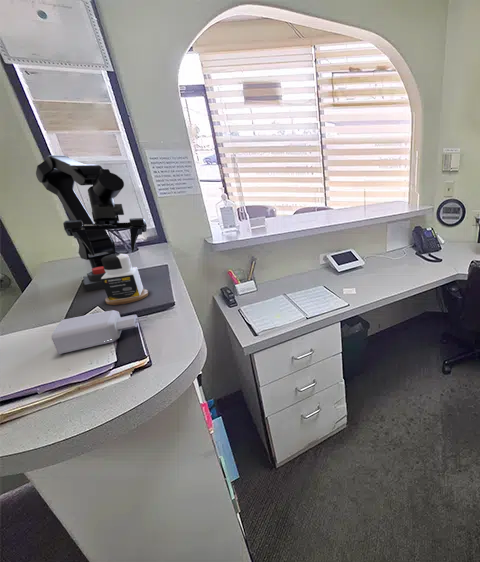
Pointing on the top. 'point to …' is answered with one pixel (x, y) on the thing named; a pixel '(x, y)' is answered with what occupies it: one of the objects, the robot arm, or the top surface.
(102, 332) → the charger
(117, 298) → the medicine bottle
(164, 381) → the top surface
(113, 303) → the coaster
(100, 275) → the button block
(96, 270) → the call button
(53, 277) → the top surface
